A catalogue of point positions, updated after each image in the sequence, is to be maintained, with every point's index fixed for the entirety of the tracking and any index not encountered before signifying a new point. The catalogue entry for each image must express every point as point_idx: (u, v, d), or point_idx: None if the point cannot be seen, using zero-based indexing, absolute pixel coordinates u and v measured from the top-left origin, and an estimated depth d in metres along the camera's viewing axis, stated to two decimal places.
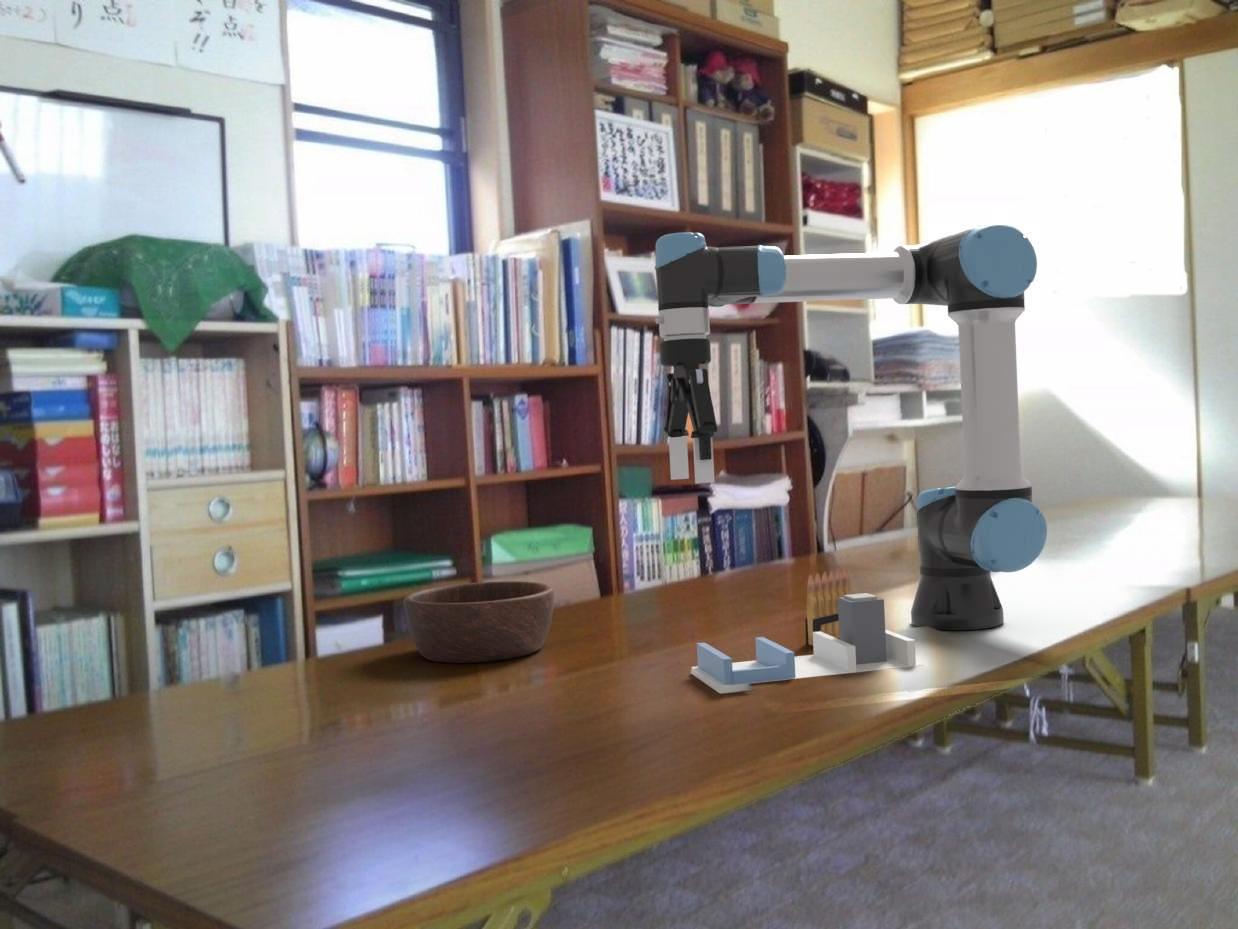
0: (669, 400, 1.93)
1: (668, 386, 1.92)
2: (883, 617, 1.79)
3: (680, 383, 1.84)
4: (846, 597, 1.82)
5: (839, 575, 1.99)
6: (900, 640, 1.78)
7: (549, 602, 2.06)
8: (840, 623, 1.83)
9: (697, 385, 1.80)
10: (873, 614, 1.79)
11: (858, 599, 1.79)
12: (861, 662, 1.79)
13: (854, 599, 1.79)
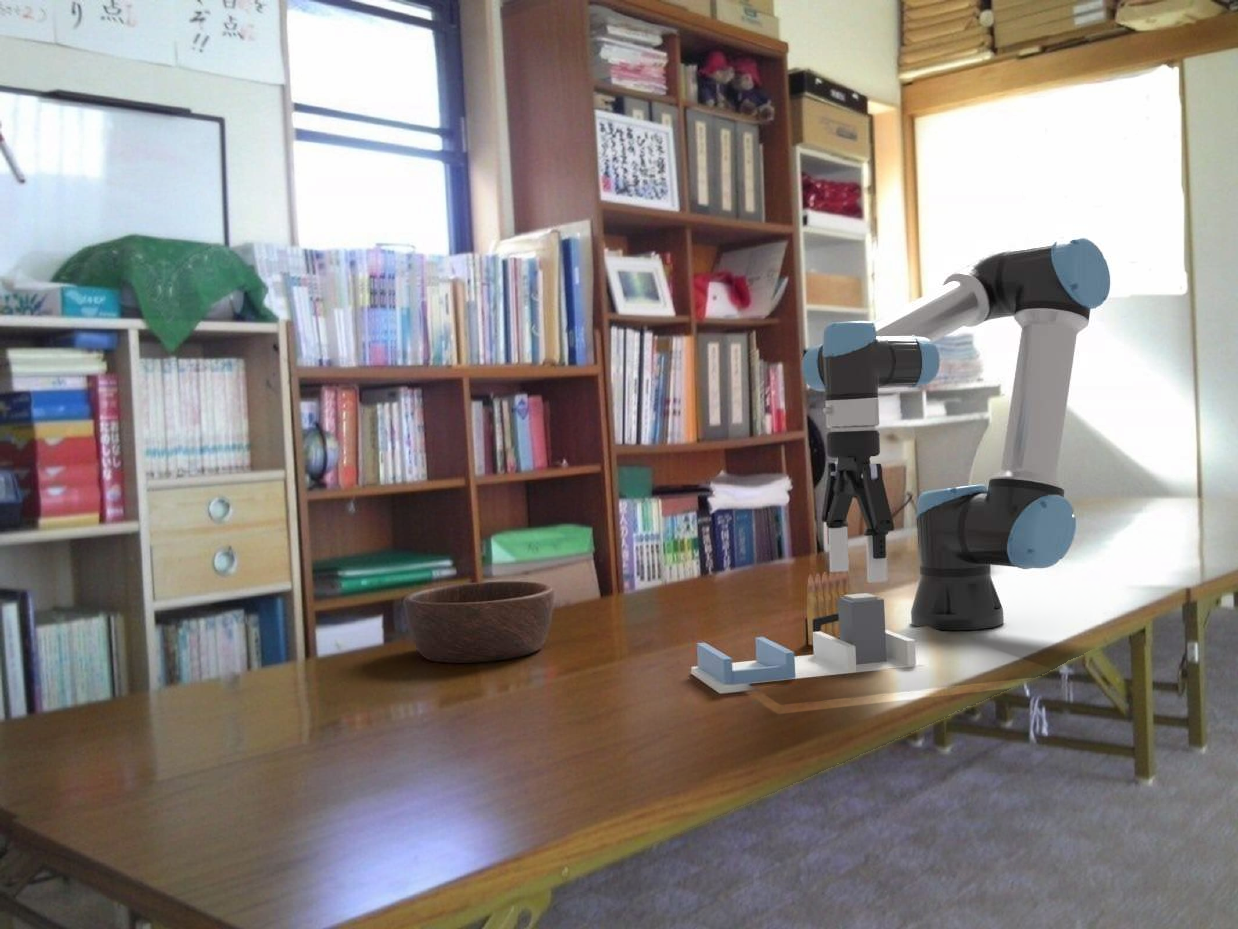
0: (830, 490, 1.87)
1: (829, 476, 1.86)
2: (883, 617, 1.79)
3: (849, 476, 1.78)
4: (846, 597, 1.82)
5: (839, 575, 1.99)
6: (900, 640, 1.78)
7: (549, 602, 2.06)
8: (840, 623, 1.83)
9: (871, 481, 1.73)
10: (873, 614, 1.79)
11: (858, 599, 1.79)
12: (861, 662, 1.79)
13: (854, 599, 1.79)
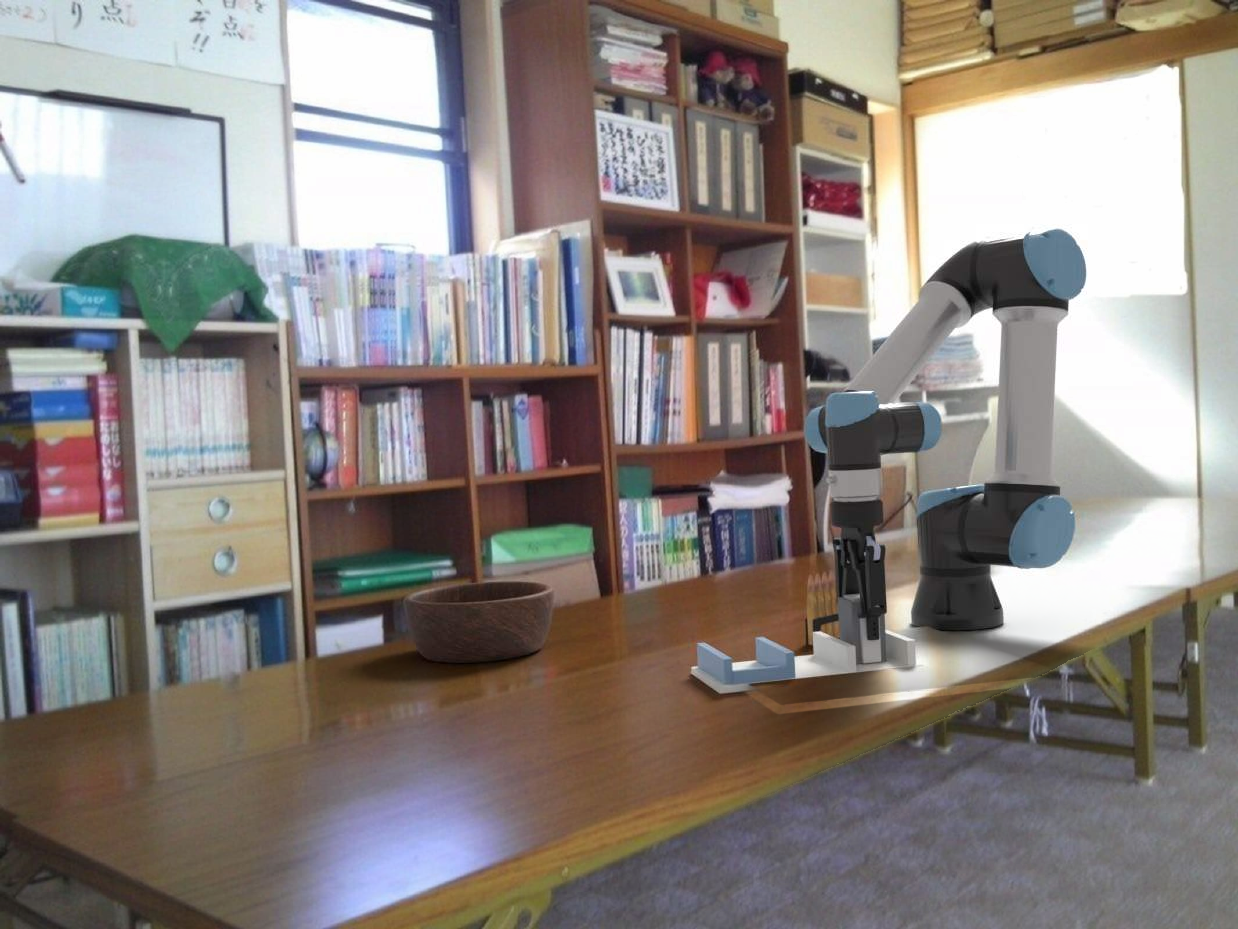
0: (839, 566, 1.86)
1: (836, 551, 1.86)
2: (883, 617, 1.79)
3: (853, 549, 1.78)
4: (846, 597, 1.82)
5: None
6: (900, 640, 1.78)
7: (549, 602, 2.06)
8: (840, 623, 1.83)
9: (873, 563, 1.75)
10: None
11: (858, 599, 1.79)
12: (861, 662, 1.79)
13: (854, 599, 1.79)
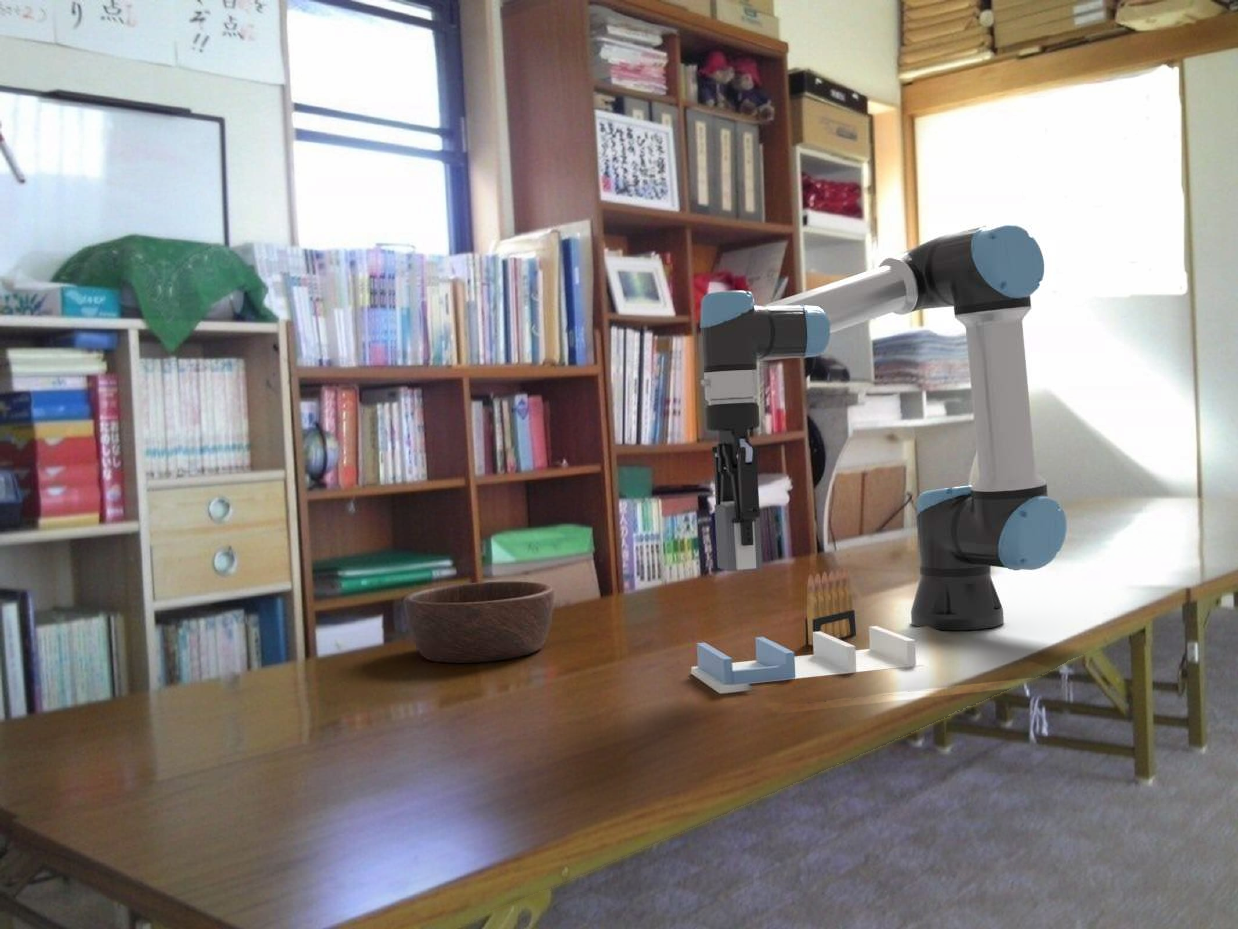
0: (717, 473, 1.81)
1: (714, 459, 1.81)
2: (758, 523, 1.75)
3: (727, 453, 1.74)
4: (722, 503, 1.77)
5: (839, 575, 1.99)
6: (900, 640, 1.78)
7: (549, 602, 2.06)
8: (717, 531, 1.78)
9: (745, 465, 1.70)
10: None
11: (733, 504, 1.75)
12: (735, 569, 1.74)
13: (728, 504, 1.75)
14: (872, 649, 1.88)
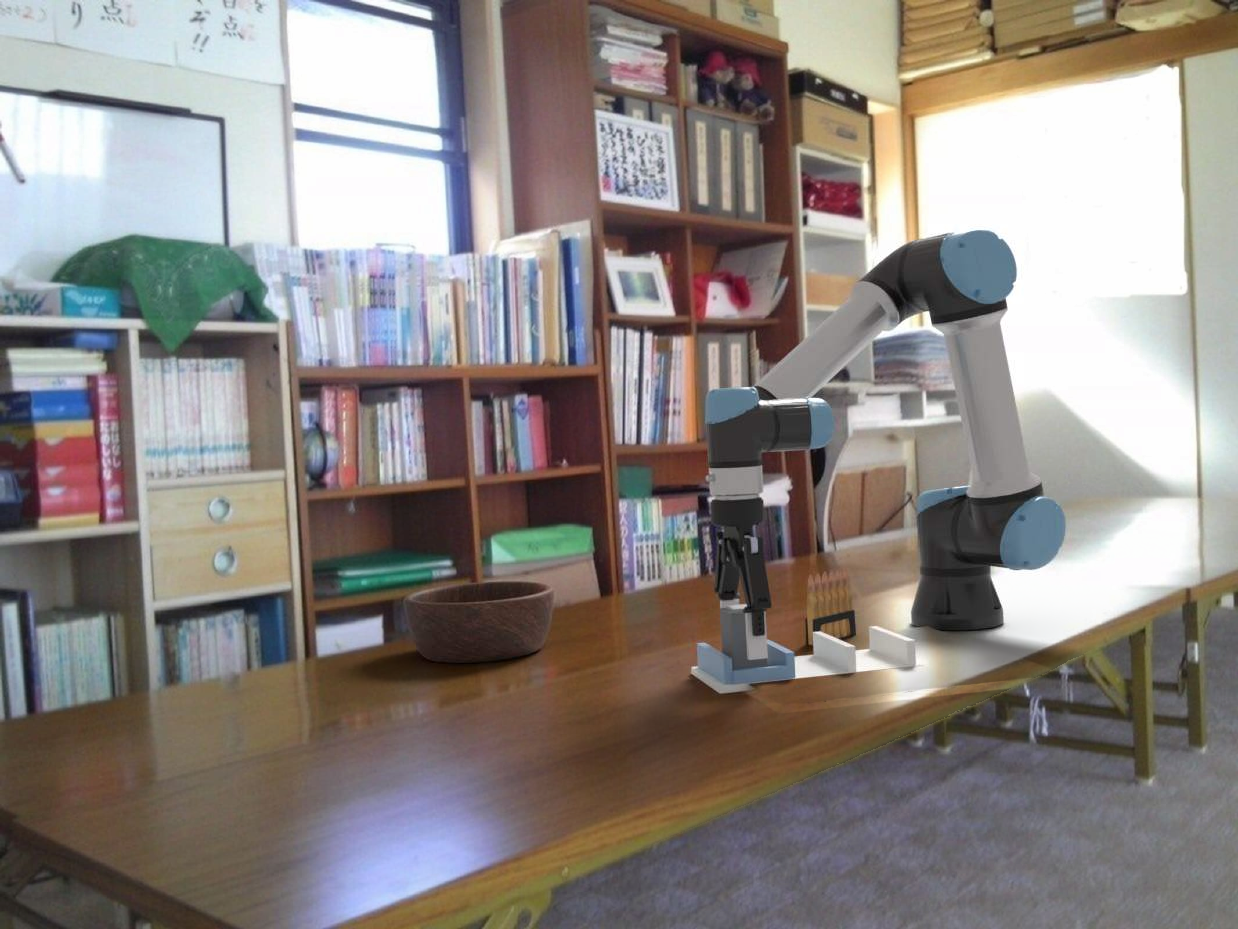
0: (719, 559, 1.83)
1: (718, 544, 1.83)
2: None
3: (732, 547, 1.74)
4: (728, 608, 1.78)
5: (839, 575, 1.99)
6: (900, 640, 1.78)
7: (549, 602, 2.06)
8: (722, 634, 1.79)
9: (751, 555, 1.70)
10: None
11: (738, 610, 1.75)
12: None
13: (734, 610, 1.75)
14: (872, 649, 1.88)
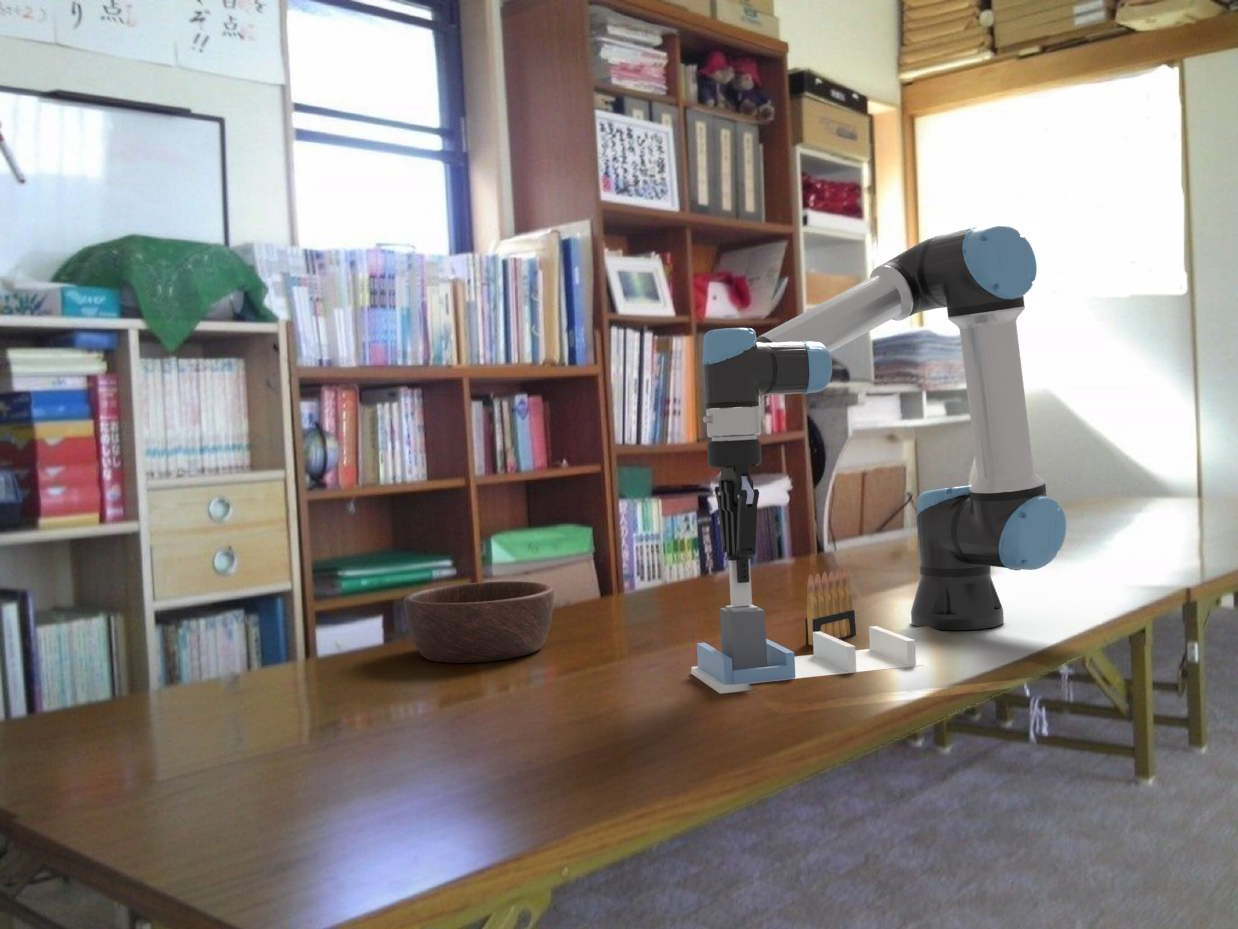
0: (722, 512, 1.80)
1: (718, 498, 1.81)
2: (764, 628, 1.75)
3: (729, 491, 1.74)
4: (727, 608, 1.78)
5: (839, 575, 1.99)
6: (900, 640, 1.78)
7: (549, 602, 2.06)
8: (722, 634, 1.79)
9: (745, 507, 1.71)
10: (753, 626, 1.75)
11: (738, 610, 1.75)
12: None
13: (734, 610, 1.75)
14: (872, 649, 1.88)
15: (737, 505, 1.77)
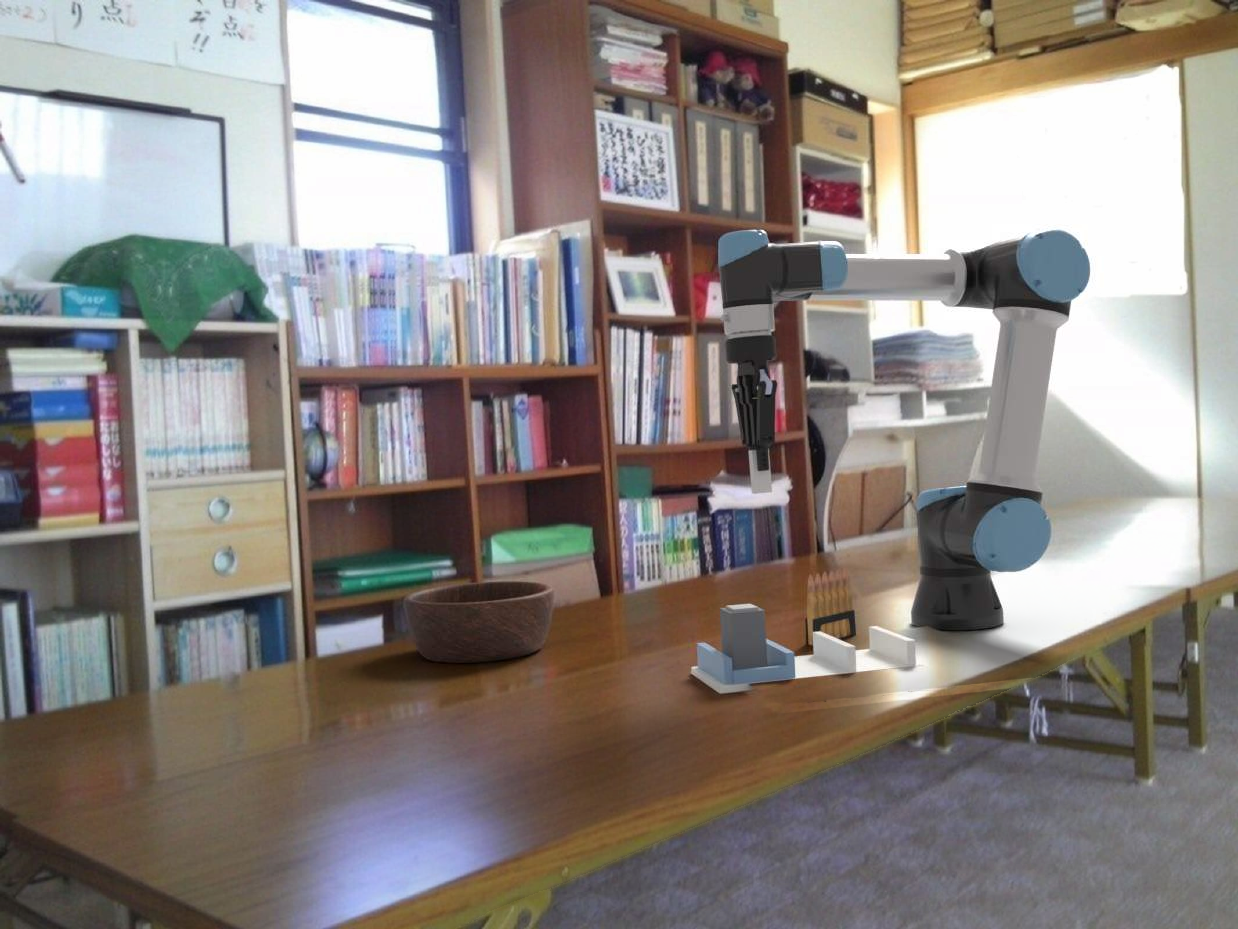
0: (739, 407, 1.91)
1: (735, 395, 1.92)
2: (764, 628, 1.75)
3: (747, 384, 1.85)
4: (728, 608, 1.78)
5: (839, 575, 1.99)
6: (900, 640, 1.78)
7: (549, 602, 2.06)
8: (722, 634, 1.79)
9: (764, 397, 1.82)
10: (754, 626, 1.75)
11: (738, 610, 1.75)
12: None
13: (734, 610, 1.75)
14: (872, 649, 1.88)
15: (755, 399, 1.88)
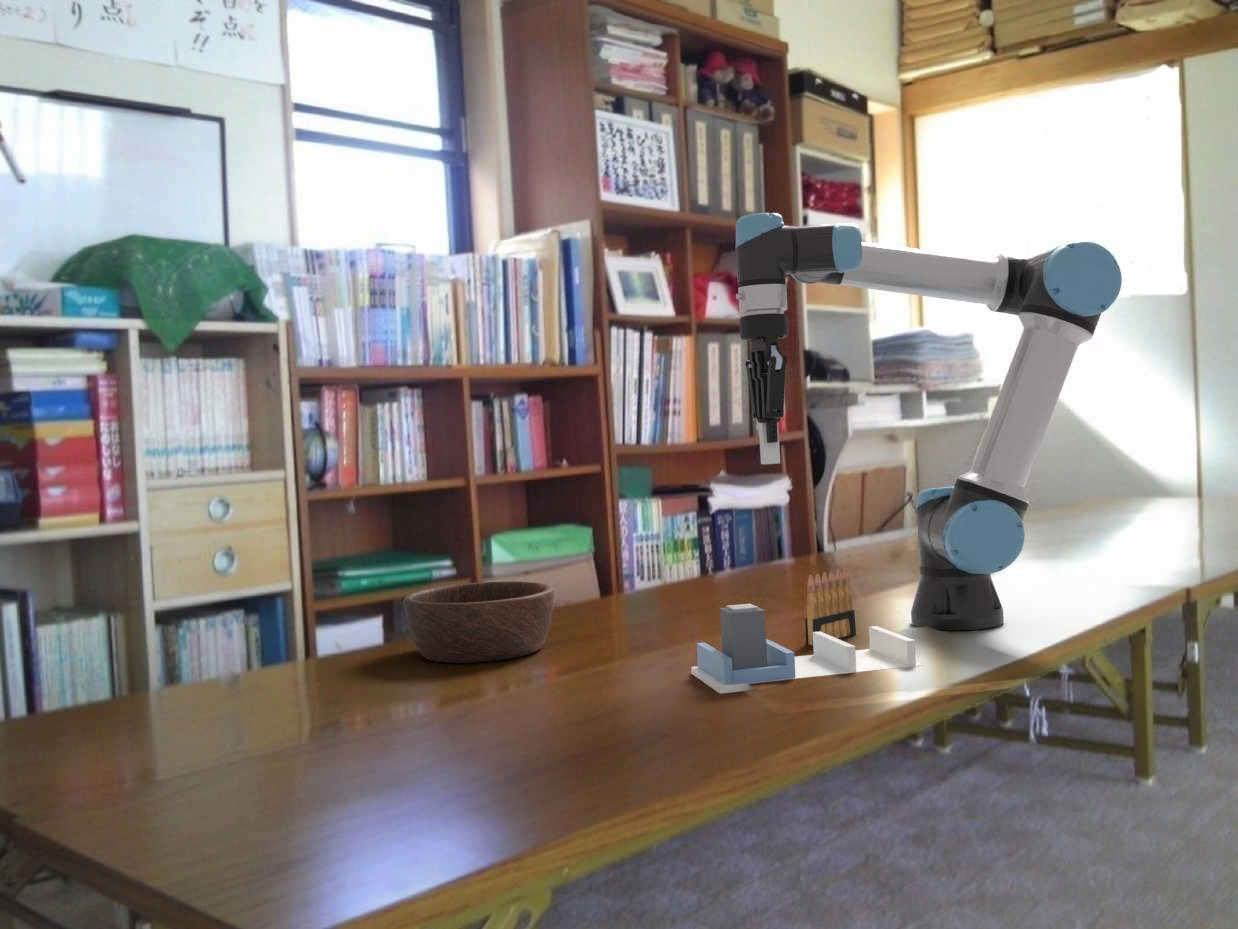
0: (752, 382, 2.00)
1: (748, 370, 2.01)
2: (764, 628, 1.75)
3: (759, 359, 1.95)
4: (728, 608, 1.78)
5: (839, 575, 1.99)
6: (900, 640, 1.78)
7: (549, 602, 2.06)
8: (722, 634, 1.79)
9: (774, 372, 1.92)
10: (754, 626, 1.75)
11: (738, 610, 1.75)
12: None
13: (734, 610, 1.75)
14: (872, 649, 1.88)
15: None
